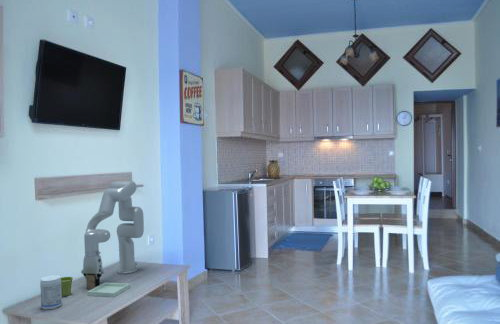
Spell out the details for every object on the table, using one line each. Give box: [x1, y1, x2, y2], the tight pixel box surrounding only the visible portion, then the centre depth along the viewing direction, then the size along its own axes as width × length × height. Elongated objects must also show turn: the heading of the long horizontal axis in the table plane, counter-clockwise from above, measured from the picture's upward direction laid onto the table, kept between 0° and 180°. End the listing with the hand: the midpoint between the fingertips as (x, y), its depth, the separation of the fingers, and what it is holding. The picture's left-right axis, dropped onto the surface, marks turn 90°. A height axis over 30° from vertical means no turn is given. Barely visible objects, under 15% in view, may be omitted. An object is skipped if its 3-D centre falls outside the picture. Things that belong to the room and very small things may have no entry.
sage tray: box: [86, 282, 131, 298], centre depth 230 cm, size 16×16×2 cm
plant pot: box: [61, 276, 74, 298], centre depth 227 cm, size 9×9×9 cm
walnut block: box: [85, 274, 101, 291], centre depth 237 cm, size 5×5×8 cm
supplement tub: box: [39, 274, 63, 310], centre depth 209 cm, size 10×10×15 cm
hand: (93, 284), depth 237 cm, fingers closed on walnut block, 5 cm apart
